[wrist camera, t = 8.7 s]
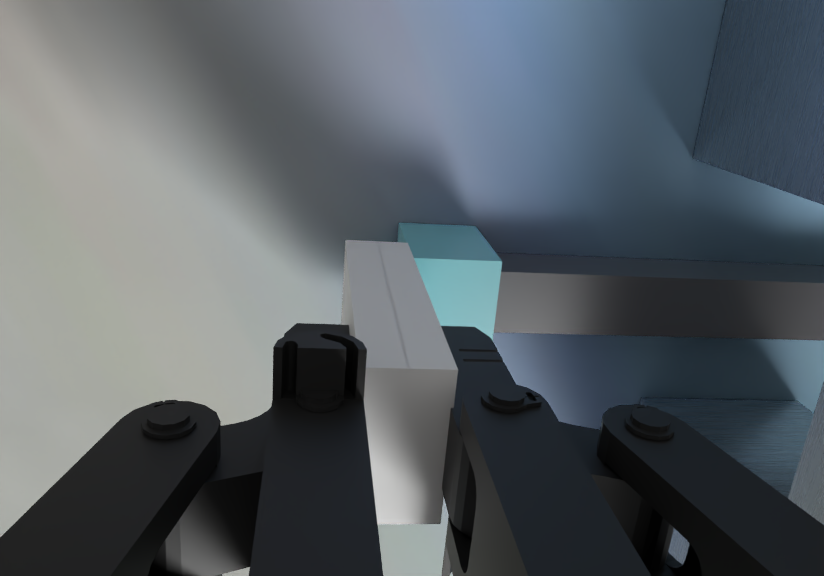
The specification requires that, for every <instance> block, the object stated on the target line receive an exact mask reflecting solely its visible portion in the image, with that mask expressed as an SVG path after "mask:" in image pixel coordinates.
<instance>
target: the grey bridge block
mask: <svg viewBox="0 0 824 576" xmlns="http://www.w3.org/2000/svg"><path fill="white" fill-rule="evenodd" d="M693 159H695V160H698V161H701V162H704V163H707V164H709V165H712V166H715V167H718V168H721V169H724V170H726V171H729V172H732V173H735V174H738V175H741V176H743V177H746V178H749V179H752V180H755V181H758V182H760V183H763V184H766V185H769V186H772V187H775V188H777V189H780V190H783V191H786V192H789V193H792V194H794V195H797V196H800V197H803V198H806V199H809V200H811V201H814V202H817V203H820V204H823V205H824V0H727V1H726V6H725V10H724V15H723V20H722V24H721V29H720V34H719V38H718V43H717V48H716V52H715V57H714V61H713V66H712V71H711V75H710V80H709V85H708V89H707V94H706V99H705V103H704V108H703V112H702V117H701V122H700V126H699V131H698V136H697V140H696V145H695V150H694V154H693ZM640 405H645V407H646V406H652V407H656V408H658V409H659V410H661V411H664V412H666V413H669V414H671V415H673V416H675V417H677V418H678V419H680V420H682V421H684V422H685V423H687V424H688V425H689V426H691V427H692V428H693V429H695V430H696V431H697V432H699V433H700V434H701V435H703V436H704V437H705V438H707V439H708V440H710V441H711V442H712V443H714V444H715V445H716V446H718V447H719V448H720V449H722V450H723V451H724V452H726V453H727V454H728V455H730V456H731V457H732V458H734V459H735V460H737V461H738V462H739V463H741V464H742V465H743V466H745V467H746V468H747V469H749V470H750V471H751V472H753V473H754V474H755V475H757V476H758V477H759V478H761V479H762V480H764V481H765V482H766V483H768V484H769V485H770V486H772V487H773V488H774V489H776V490H777V491H778V492H780V493H781V494H782V495H784V496H785V497H787V498H788V499H789V500H791V501H792V502H793V503H795V504H796V505H797V506H799V507H800V508H801V509H803V510H804V511H805V512H807V513H808V514H809V515H811V516H812V517H814V518H815V519H816V520H818V521H819V522H820V523H822V524H823V525H824V383H823V386H822V389H821V392H820V396H819V399H818V402H817V405H816V409H815V412H814V413H812V412H811V411H810V410H808V409H807V408H806V407H805V406H803V405H802V404H801V403H800V402H798V401H780V400H729V399H679V398H641V400H640ZM689 544H690V543H689V542H688V541H687V540H686V539H685V538H684V537H683V536H682V535H681V534H680V533H679V532H678V531H677V530H676V529H675V528H674V530H673V534H672V538H671V542H670V546H669V550H668V552H669V553H670V554H671V555H672V556H673V557H674V558H675V559H676V560H677V561H678V562H680V563H681V564H683V563H684V561H685V559H686V555H687V551H688V547H689Z"/></svg>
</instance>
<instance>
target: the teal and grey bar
mask: <svg viewBox="0 0 824 576" xmlns="http://www.w3.org/2000/svg"><path fill="white" fill-rule="evenodd" d="M397 242H403V243H408V245H409V247H410V250H411V252H412V255H413V257H414V260H415V262H416V265H417V267H418V270H419V272H420V275H421V277H422V280H423V282H424V285H425V287H426V290H427V293H428V295H429V298H430V300H431V303H432V305H433V308H434V310H435V313H436V315H437V318H438V320H439V323H440V325H441V326H467V327H476V328H477V329H479V330H480V331H482V332H483V333H485V334H486V335H487V336H489V337H490V338H491V339H492V341H493V333H494V332H496V333H538V334H580V335H622V336H664V337H705V338H747V339H789V340H824V266H823V265H797V264H772V263H746V262H721V261H695V260H670V259H644V258H619V257H593V256H568V255H542V254H517V253H496V252H495V251H494V250H493V248H492V247H491V246H490V245H489V243H488V242H487V241H486V239H485V238H484V237H483V235H482V234H481V233H480V231H479V230H478V229H477V227H476V226H465V225H443V224H420V223H399V226H398V240H397Z"/></svg>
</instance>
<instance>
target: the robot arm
mask: <svg viewBox="0 0 824 576" xmlns="http://www.w3.org/2000/svg"><path fill="white" fill-rule="evenodd" d="M443 497H444V499H445V502H446V506H447V510H448V514H449V518H448V526H447V535H446V543H445V551H444V560H443V568H442V576H449V575H450V573H451V572H452V573H453V576H824V525H823V524H822V523H820V522H819V521H818V520H816V519H815V518H814V517H812V516H811V515H809V514H808V513H807V512H805V511H804V510H803V509H801V508H800V507H799V506H797V505H796V504H795V503H793V502H792V501H791V500H789V499H788V498H787V497H785V496H784V495H782V494H781V493H780V492H778V491H777V490H776V489H774V488H773V487H772V486H770V485H769V484H768V483H766V482H765V481H764V480H762V479H761V478H759V477H758V476H757V475H755V474H754V473H753V472H751V471H750V470H749V469H747V468H746V467H745V466H743V465H742V464H741V463H739V462H738V461H737V460H735V459H734V458H732V457H731V456H730V455H728V454H727V453H726V452H724V451H723V450H722V449H720V448H719V447H718V446H716V445H715V444H714V443H712V442H711V441H710V440H708V439H707V438H705V437H704V436H703V435H701V434H700V433H699V432H697V431H696V430H695V429H693V428H692V427H691V426H689V425H688V424H687V423H685V422H684V421H682V420H680V419H678V418H677V417H675V416H673V415H671V414H669V413H666V412H664V411H661V410H659V409H658V408H656V407H652V406H646V407H645V405H640V404H634V405H620V406H616V407H613V408H609V409H608V410H607V411H606V412H605V413H604V414H603V417H602V422H601V427H600V430H598V429H592V428H587V427H581V426H576V425H571V424H567V423H563V422H559V421H558V419H557V417H556V416H555V414H554V412H553V411H552V409H551V407H550V406H549V404H548V402H547V401H546V400H545V399H544V398H543V397H542V396H541V395H540V394H538V393H536V392H534V391H532V390H530V389H528V388H526V387H523V386H519V385H516V384H515V382H514V380H513V378H512V376H511V374H510V372H509V371H508V369H507V367H506V365H505V363H504V362H503V360H502V358H501V356H500V354H499V352H497V348H496V347H495V345H494V343H493V341H492V339H491V338H490V337H489V336H487V335H486V334H485V333H483V332H482V331H480V330H479V329H477V328H476V327H467V326H441V325H440V323H439V320H438V318H437V315H436V313H435V310H434V308H433V305H432V303H431V300H430V298H429V295H428V293H427V290H426V287H425V285H424V282H423V280H422V277H421V275H420V272H419V270H418V267H417V265H416V262H415V260H414V257H413V255H412V252H411V250H410V247H409V245H408V243H403V242H381V241H360V240H345V258H344V277H343V296H342V316H341V325H336V324H302V323H297V324H296V325H294V326H293V327H292V328H291V329H290V330H289V331H287V332H286V333H285V335H284V337H283V338H281V339H279V340H278V341H277V343H276V344H275V346H274V352H273V400H272V407H271V408H270V409H269V410H268V411H266V412H265V413H263V414H262V415H260V416H258V417H255V418H253V419H250V420H248V421H244V422H239V423H235V424H230V425H224V426H220V420H219V418H218V415H217V413H216V412H215V411H213V410H212V409H210V408H208V407H207V406H205V405H202V404H198V403H194V402H190V401H177V400H166V401H165V402H163V401H160V402H155V403H152V404H149V405H146V406H144V407H141V408H138V409H135V410H133V411H132V412H130V413H129V414H127V415H126V416H124V417H123V418H122V419H120V420H119V421H118V422H117V423H116V424H115V425H114V426H113V427H112V428H111V429H110V430H109V431H108V432H107V433H106V434H105V435H104V436H103V437H102V438H101V439H100V440H99V441H98V442H97V443H96V444H95V445H94V446H93V447H92V448H91V449H90V450H89V451H88V452H87V453H86V454H85V455H84V456H83V457H82V458H81V459H80V460H79V461H78V462H77V463H76V464H75V465H74V466H73V467H72V468H71V469H70V470H69V471H68V472H67V473H66V474H65V475H63V476H62V477H61V478H60V479H59V480H58V481H57V482H56V483H55V484H54V485H53V486H52V487H51V488H50V489H49V490H48V491H47V492H46V493H45V494H44V495H43V496H42V497H41V498H40V499H39V500H38V501H37V502H36V503H35V504H34V505H33V506H32V507H31V508H30V509H29V510H28V511H27V512H26V513H25V514H24V515H23V516H22V517H21V518H20V519H19V520H18V521H17V522H16V523H15V524H14V525H13V526H12V527H11V528H10V529H9V530H8V531H6V532H5V533H4V534H3V535H2V536H1V537H0V576H222V574H224V573H228V572H231V571H235V570H239V569H243V568H247V567H250V571H249V576H383V571H382V562H381V553H380V544H379V534H378V525H377V524H440V523H441V514H442V506H443ZM674 528H675V529H676V530H677V531H678V532H679V533H680V534H681V535H682V536H683V537H684V538H685V539H686V540H687V541H688V542H689V543H690V544H689V547H688V551H687V555H686V559H685V561H684V563H683V564H681V563H680V562H678V561H677V560H676V559H675V558H674V557H673V556H672V555H671V554H670V553H669V552H668V550H669V546H670V542H671V538H672V534H673V530H674Z"/></svg>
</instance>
